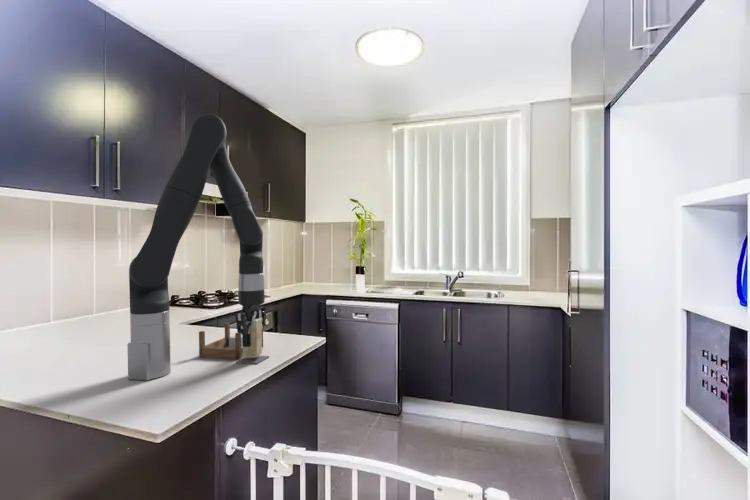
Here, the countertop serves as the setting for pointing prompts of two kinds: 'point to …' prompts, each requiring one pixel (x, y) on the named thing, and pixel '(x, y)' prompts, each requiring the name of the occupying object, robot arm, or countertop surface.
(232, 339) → the offcut top
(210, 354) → the frame
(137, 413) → the countertop surface
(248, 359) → the mat
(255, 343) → the box
